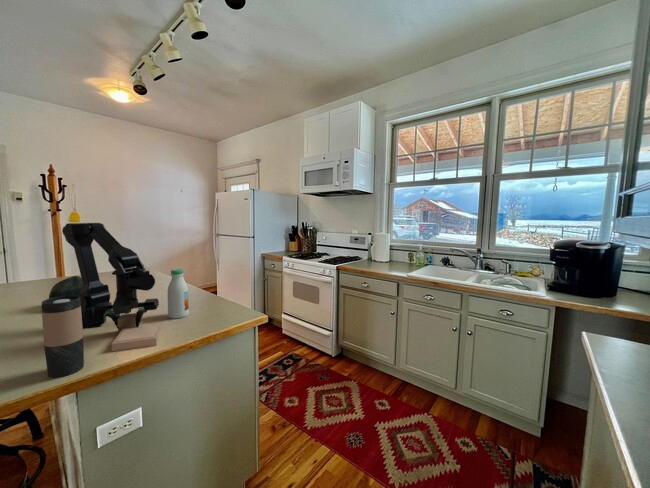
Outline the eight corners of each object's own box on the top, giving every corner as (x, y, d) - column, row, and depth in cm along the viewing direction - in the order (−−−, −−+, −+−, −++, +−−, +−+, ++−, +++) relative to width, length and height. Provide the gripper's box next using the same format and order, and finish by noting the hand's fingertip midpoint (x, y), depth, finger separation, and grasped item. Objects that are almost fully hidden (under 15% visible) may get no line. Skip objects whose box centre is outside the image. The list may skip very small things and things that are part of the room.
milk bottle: (179, 319, 111) (178, 272, 109) (163, 318, 112) (162, 270, 110) (192, 313, 118) (191, 268, 116) (177, 311, 120) (176, 267, 118)
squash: (51, 292, 125) (48, 272, 117) (93, 288, 135) (94, 269, 127) (49, 319, 118) (46, 299, 110) (94, 313, 128) (94, 294, 120)
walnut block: (118, 335, 95) (117, 319, 95) (122, 330, 100) (121, 314, 99) (135, 333, 97) (134, 317, 97) (138, 328, 102) (137, 312, 101)
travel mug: (92, 362, 78) (88, 295, 76) (68, 378, 70) (62, 304, 68) (65, 362, 78) (60, 295, 76) (37, 378, 70) (31, 303, 68)
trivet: (111, 351, 84) (111, 343, 84) (123, 335, 95) (122, 328, 95) (156, 345, 89) (156, 337, 89) (162, 330, 100) (162, 323, 100)
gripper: (84, 296, 86) (87, 343, 87) (152, 291, 93) (154, 334, 95) (97, 287, 96) (99, 329, 98) (158, 283, 103) (159, 322, 105)
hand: (128, 329), depth 98 cm, fingers closed on walnut block, 5 cm apart
